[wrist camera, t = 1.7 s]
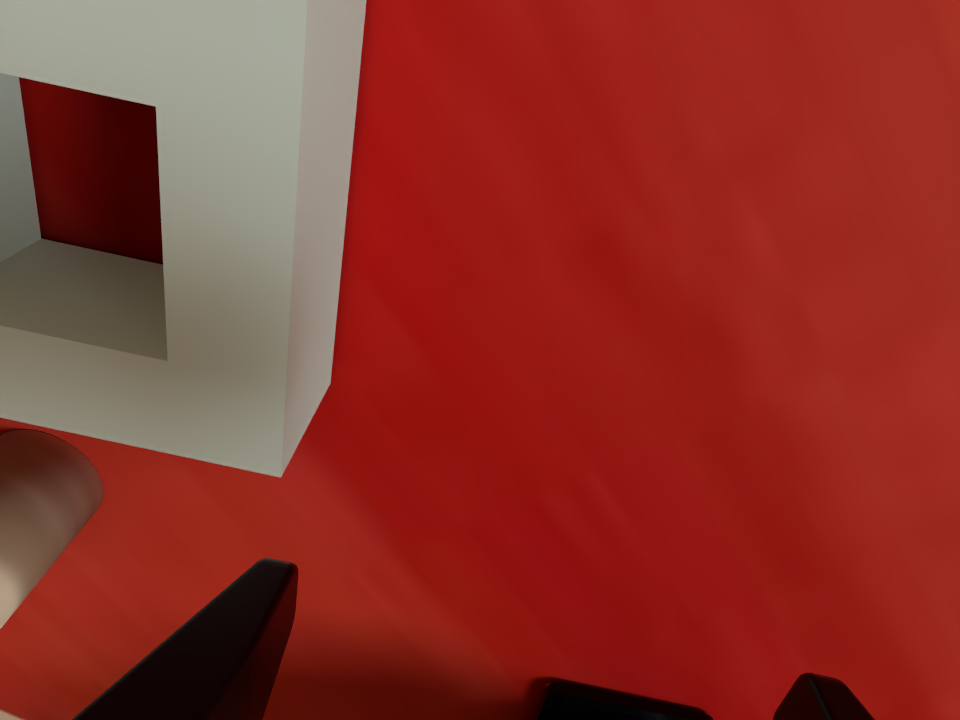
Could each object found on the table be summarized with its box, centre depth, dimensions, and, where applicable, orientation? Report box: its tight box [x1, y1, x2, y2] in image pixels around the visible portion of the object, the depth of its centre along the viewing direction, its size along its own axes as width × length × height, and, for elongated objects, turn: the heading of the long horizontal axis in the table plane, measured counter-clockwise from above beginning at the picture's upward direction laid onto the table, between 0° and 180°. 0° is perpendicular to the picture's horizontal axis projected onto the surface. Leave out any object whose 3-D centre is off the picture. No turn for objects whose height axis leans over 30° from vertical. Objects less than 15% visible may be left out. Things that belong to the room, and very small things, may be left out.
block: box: [0, 0, 366, 477], centre depth 17 cm, size 11×11×4 cm
